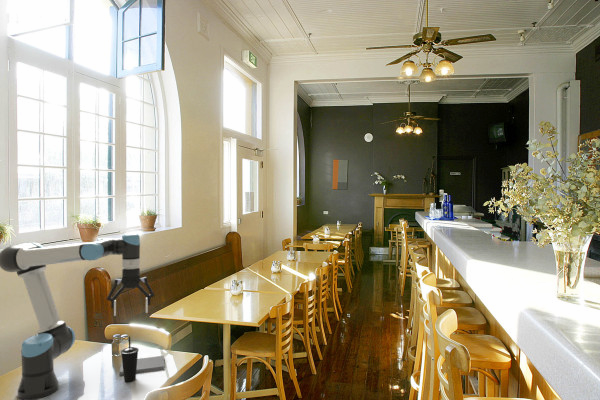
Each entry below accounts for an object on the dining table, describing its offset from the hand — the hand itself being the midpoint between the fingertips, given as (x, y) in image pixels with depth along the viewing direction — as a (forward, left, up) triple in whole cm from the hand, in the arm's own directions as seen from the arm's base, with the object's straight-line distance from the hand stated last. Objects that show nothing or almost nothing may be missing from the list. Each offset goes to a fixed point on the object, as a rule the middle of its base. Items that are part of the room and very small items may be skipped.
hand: (131, 313), depth 196 cm
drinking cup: (-1, -2, -30) cm, 30 cm away
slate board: (+4, +12, -30) cm, 33 cm away
